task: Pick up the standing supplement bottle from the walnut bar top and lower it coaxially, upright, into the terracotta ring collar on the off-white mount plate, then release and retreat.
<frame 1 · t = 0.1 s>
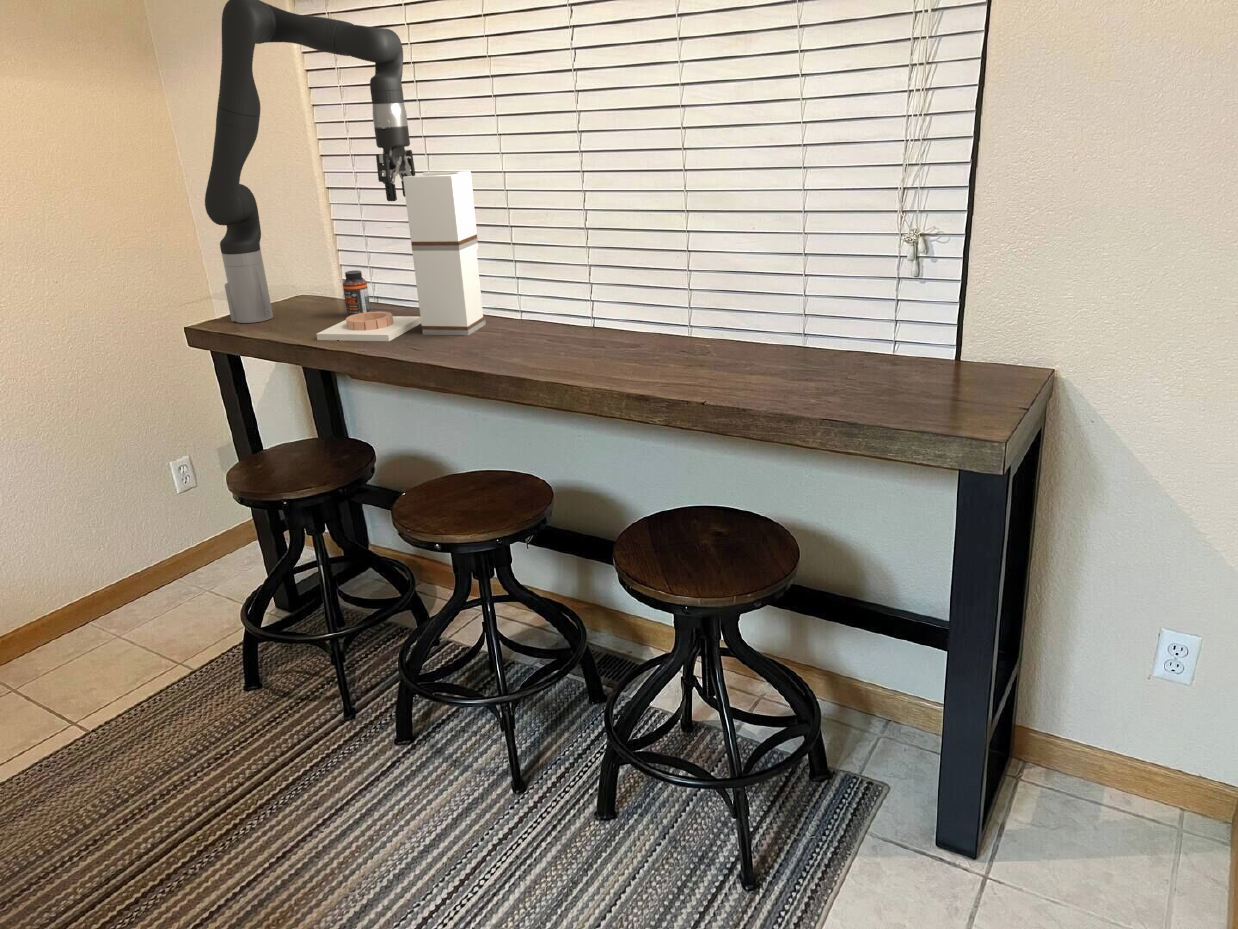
hand: (400, 198, 214), 29 cm above the table, fingers open, 8 cm apart
supplement bottle: (359, 316, 233), on the table
white striped pillar: (454, 330, 215), on the table
collar mount: (371, 331, 217), on the table
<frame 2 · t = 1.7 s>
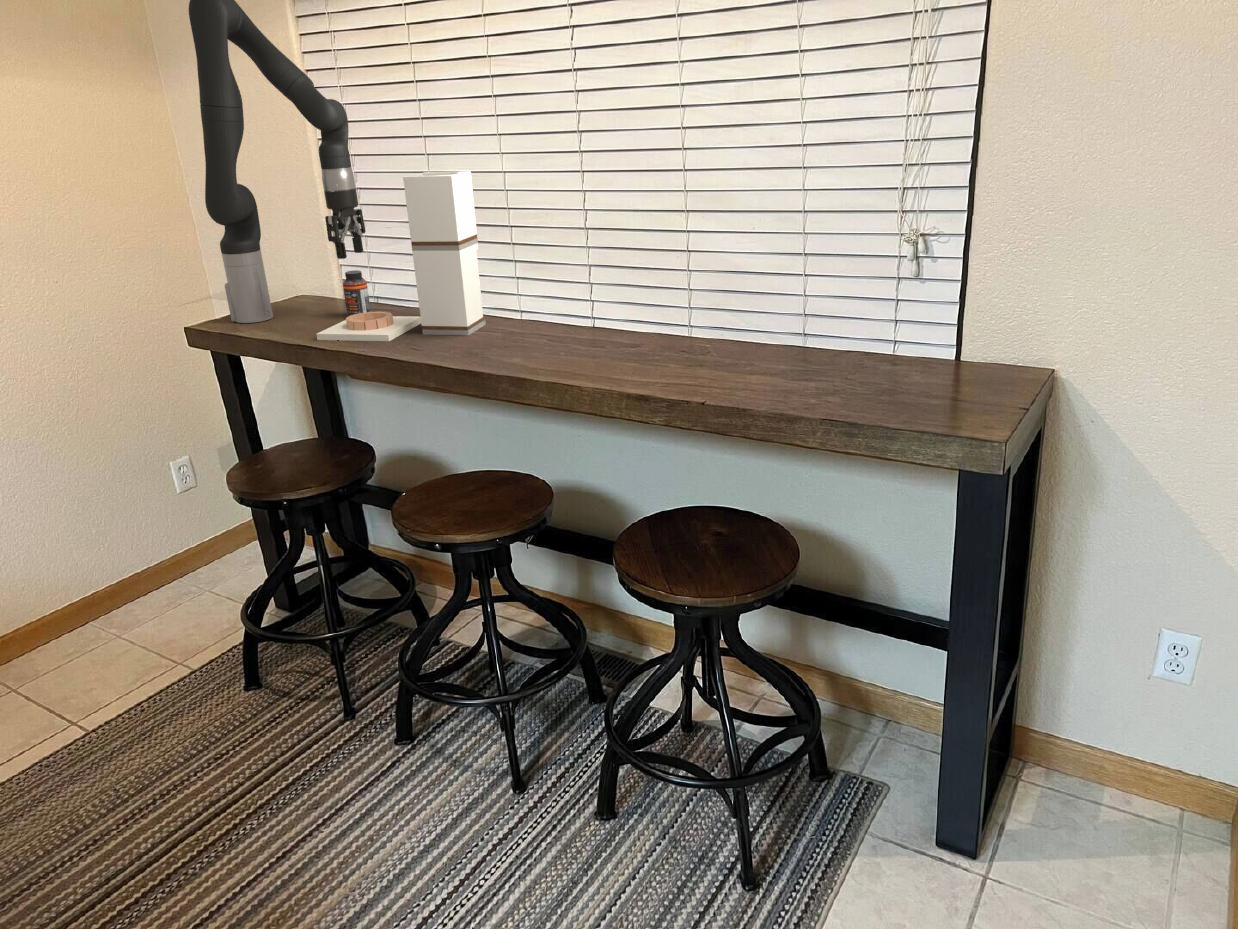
hand: (350, 255, 227), 15 cm above the table, fingers open, 8 cm apart
nothing on the table moved.
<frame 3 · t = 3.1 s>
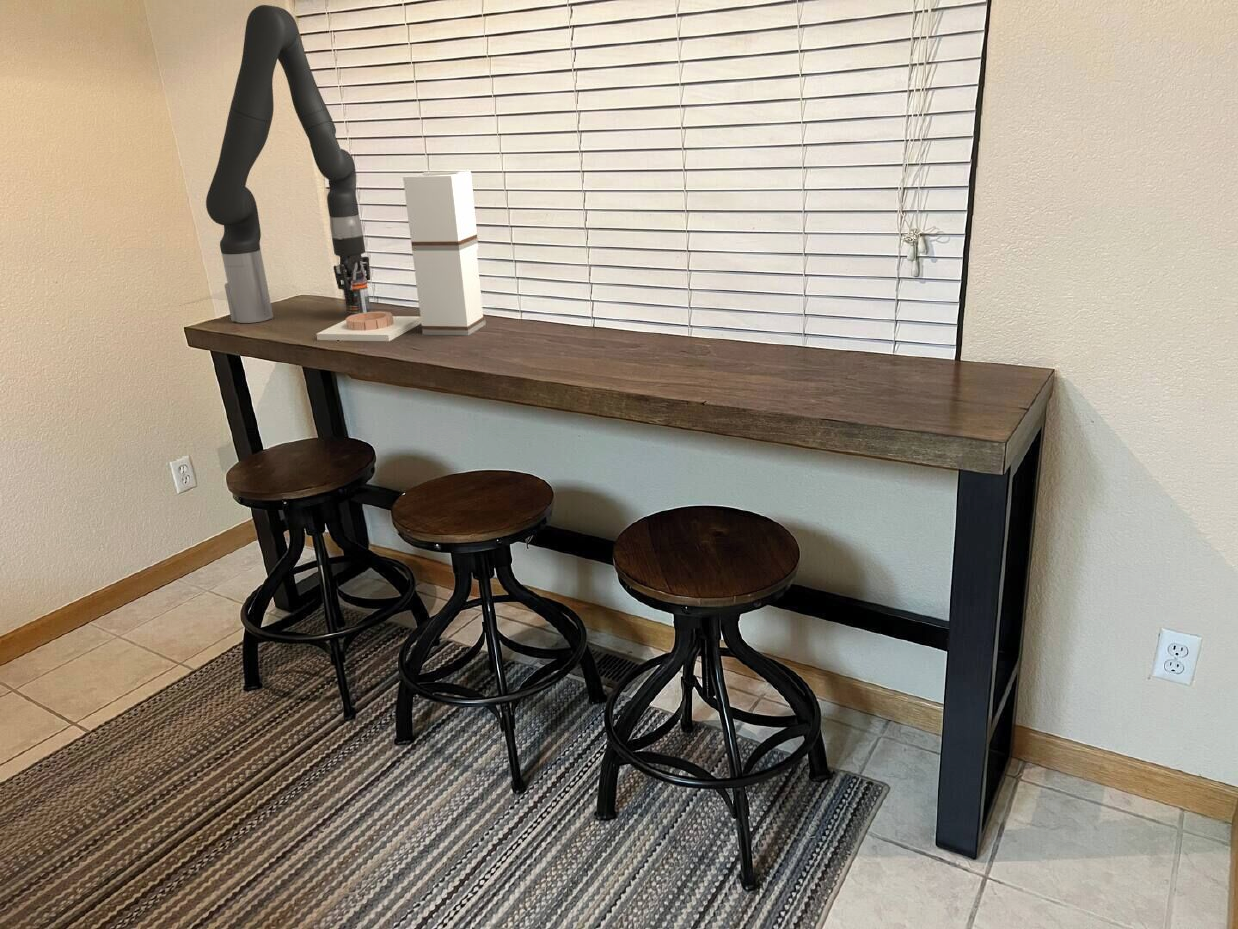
hand: (357, 301, 232), 4 cm above the table, fingers closed on supplement bottle, 6 cm apart
supplement bottle: (359, 316, 233), on the table, touching gripper
everything else where it was.
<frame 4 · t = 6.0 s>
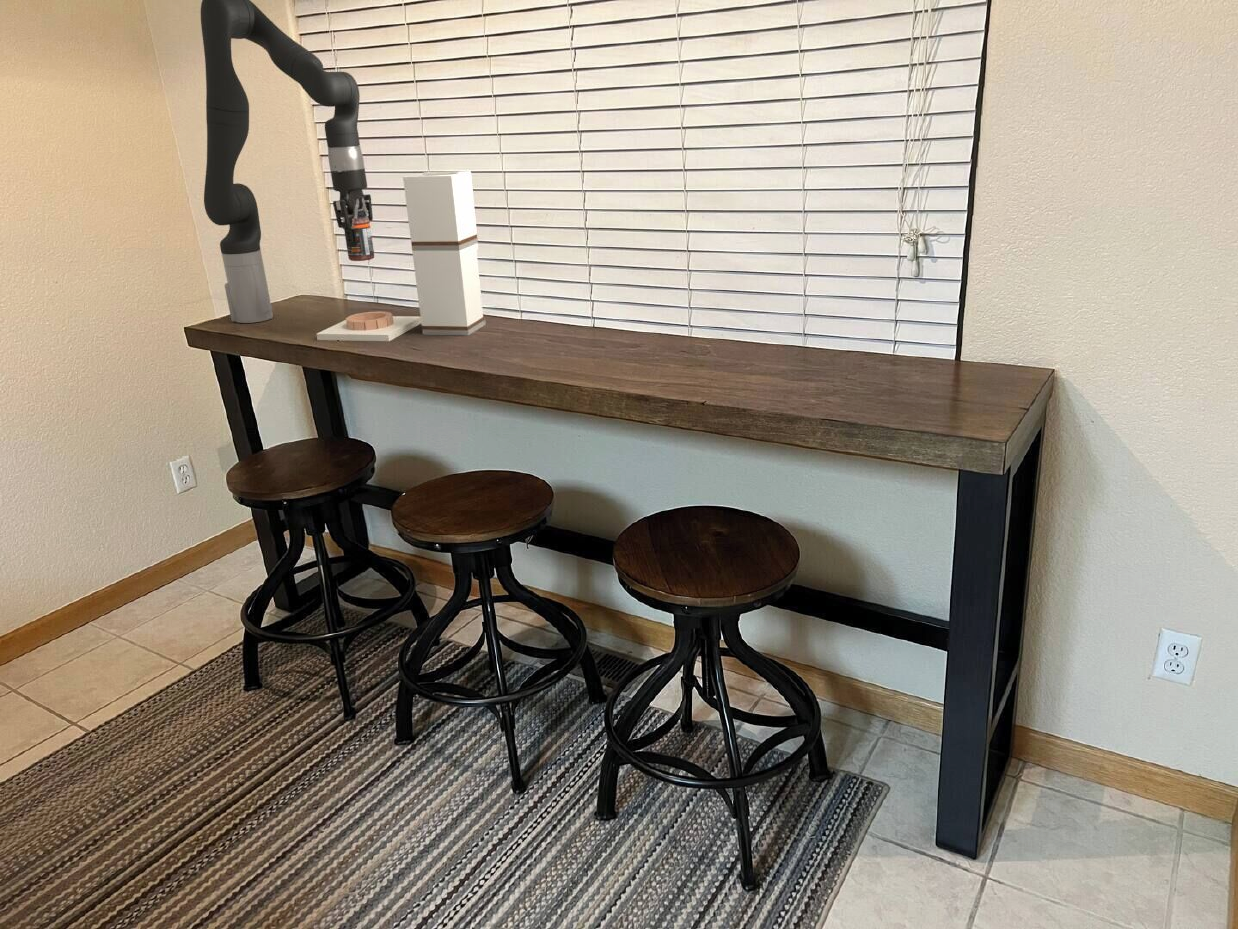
hand: (359, 243, 212), 20 cm above the table, fingers closed on supplement bottle, 6 cm apart
supplement bottle: (362, 260, 214), point 16 cm above the table, touching gripper
everything else where it was.
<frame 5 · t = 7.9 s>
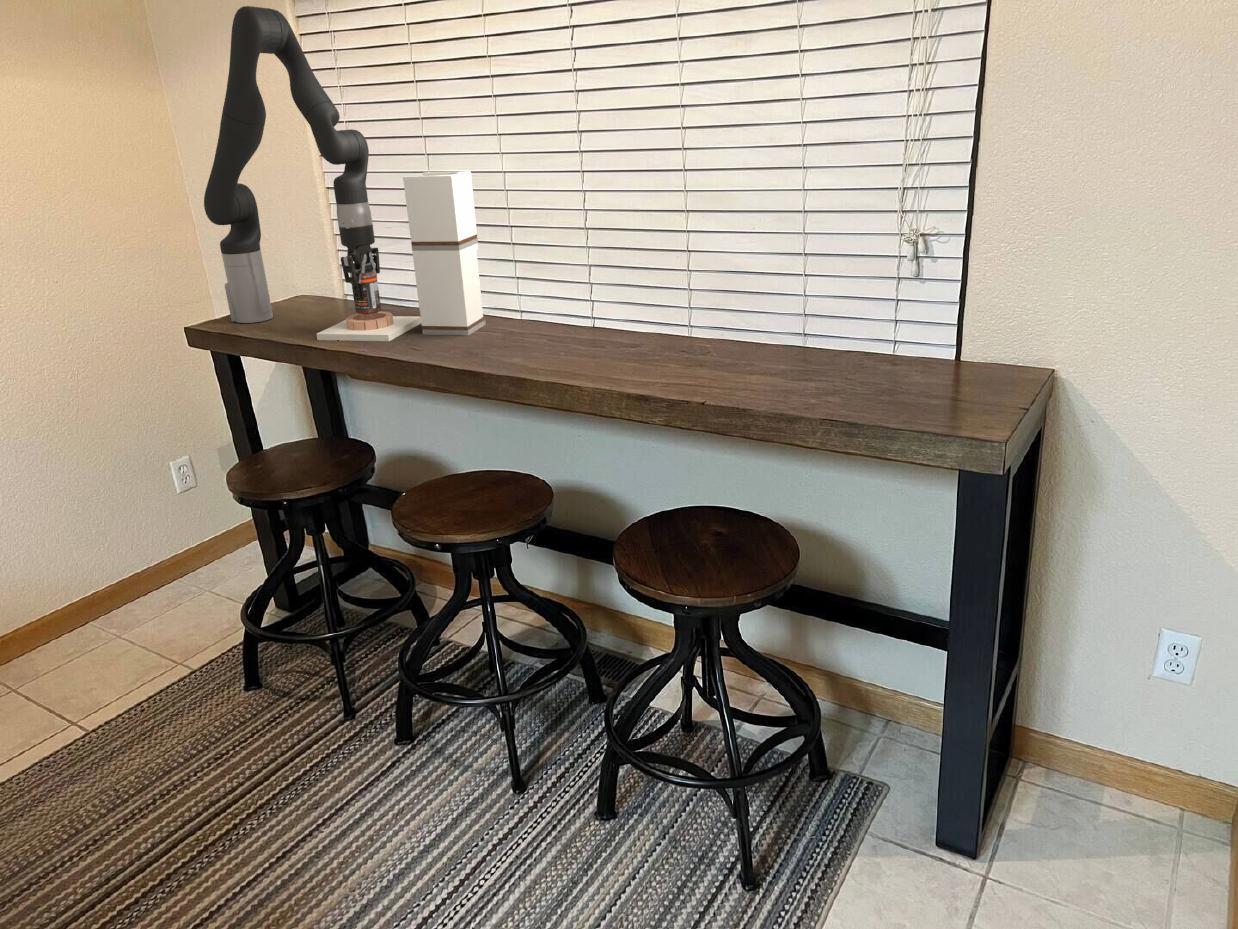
hand: (366, 296, 214), 8 cm above the table, fingers closed on supplement bottle, 6 cm apart
supplement bottle: (368, 312, 216), point 4 cm above the table, touching gripper
everything else where it was.
when the fingers open (6 cm above the table, at t = 9.2 s): supplement bottle stays where it is, resting on collar mount.
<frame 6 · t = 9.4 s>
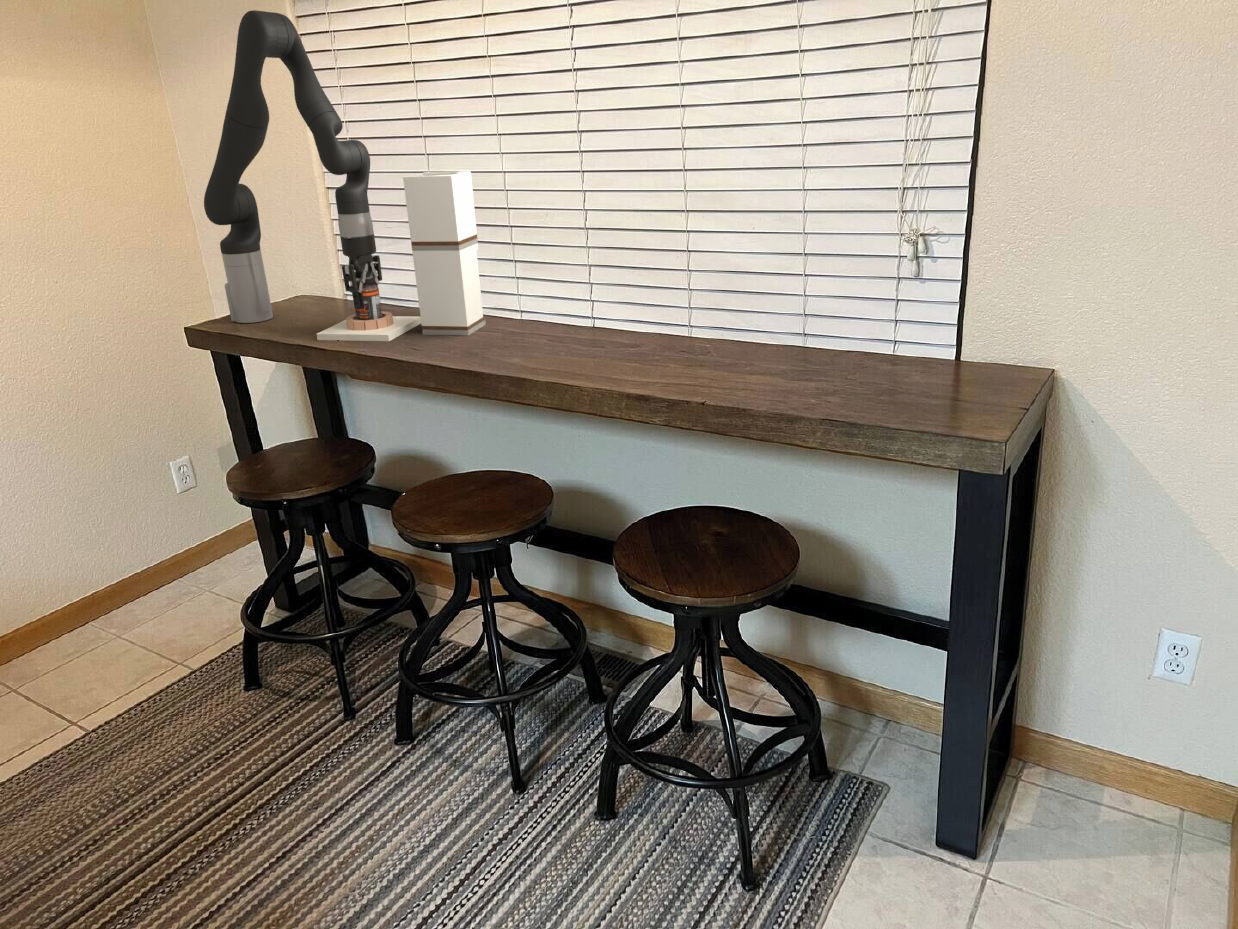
hand: (367, 304, 215), 6 cm above the table, fingers open, 7 cm apart
supplement bottle: (370, 325, 217), point 1 cm above the table, touching collar mount
everything else where it was.
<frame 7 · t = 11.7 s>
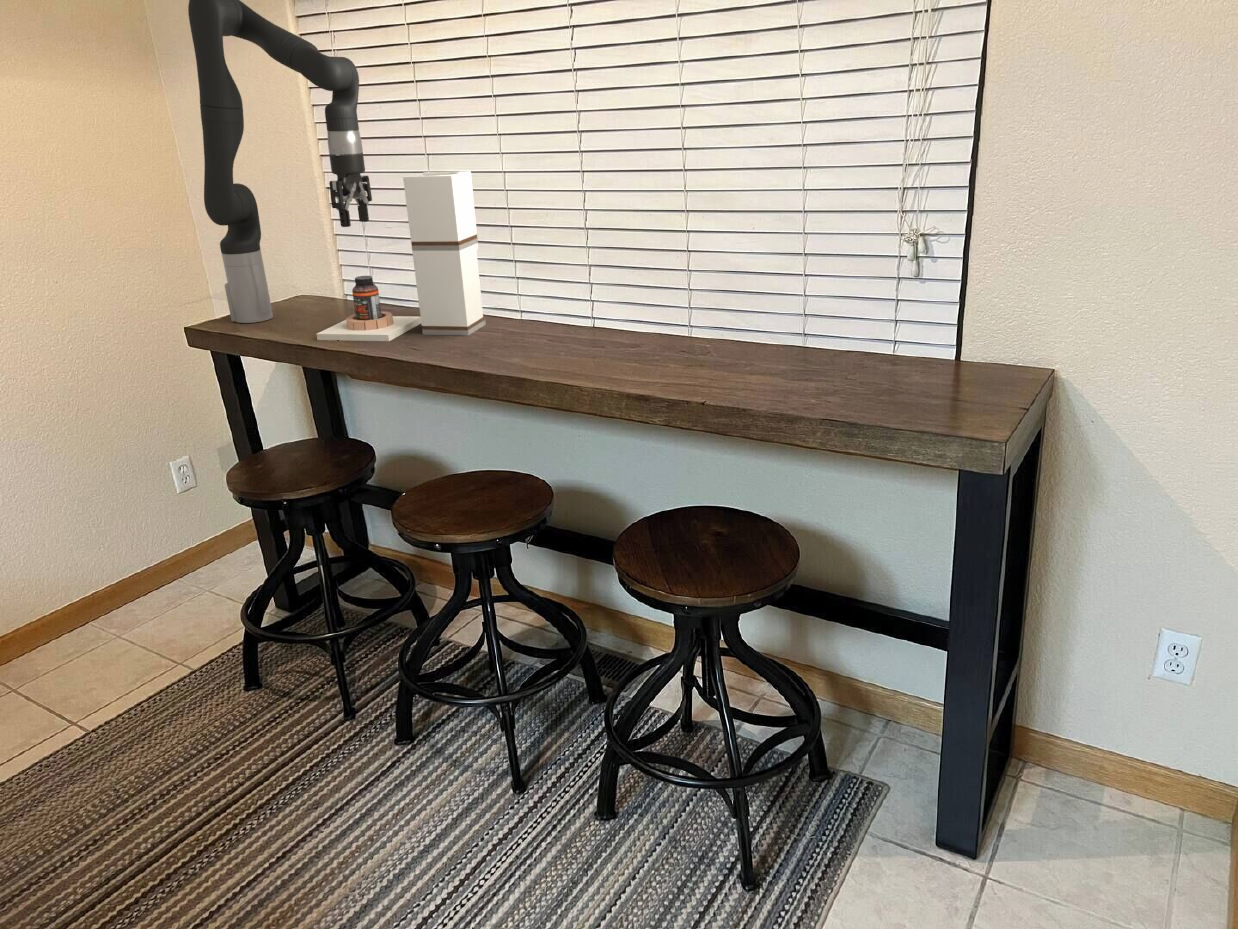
hand: (355, 224, 216), 24 cm above the table, fingers open, 8 cm apart
nothing on the table moved.
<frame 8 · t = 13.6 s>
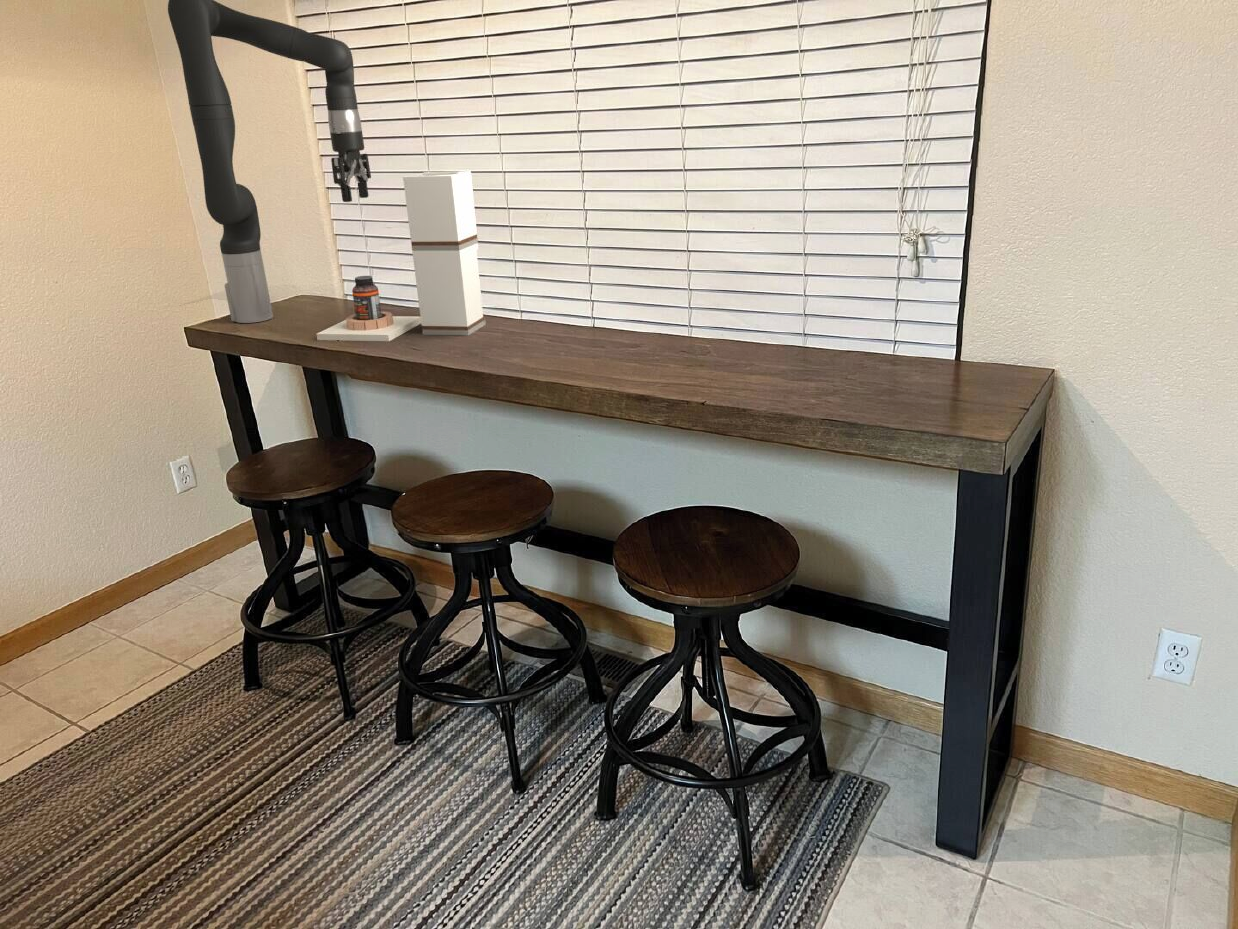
hand: (356, 199, 227), 28 cm above the table, fingers open, 8 cm apart
nothing on the table moved.
at the end: supplement bottle 0.1 cm off-centre on the collar mount, point 1.3 cm above the collar mount's base; supplement bottle tilted 0°; the gripper is holding nothing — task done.
